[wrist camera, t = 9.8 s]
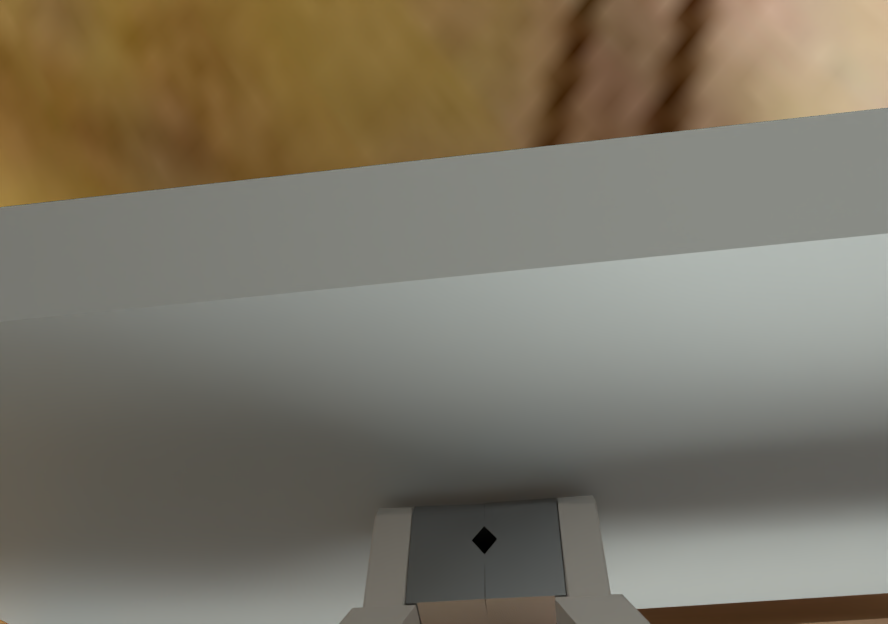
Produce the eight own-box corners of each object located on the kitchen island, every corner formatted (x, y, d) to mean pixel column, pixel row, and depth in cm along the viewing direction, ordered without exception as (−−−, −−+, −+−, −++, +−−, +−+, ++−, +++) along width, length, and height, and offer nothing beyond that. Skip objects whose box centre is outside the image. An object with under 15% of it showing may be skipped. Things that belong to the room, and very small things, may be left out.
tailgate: (1026, 584, 16) (1640, 158, 7) (54, 646, 17) (-506, 372, 8) (977, 470, 17) (1433, -14, 8) (79, 537, 19) (-381, 200, 10)
